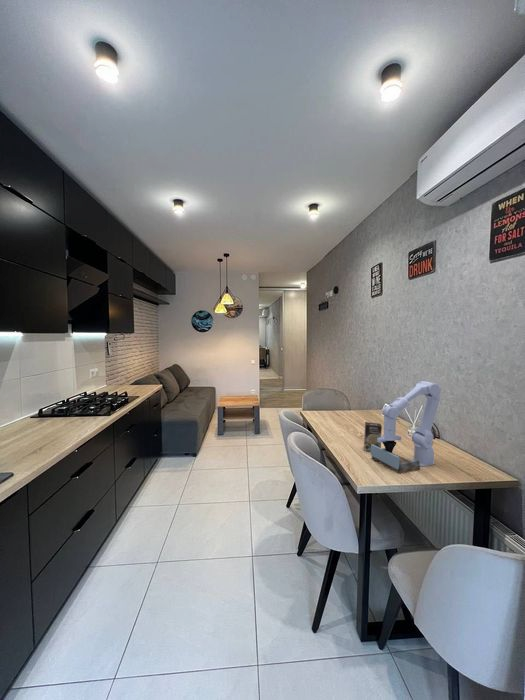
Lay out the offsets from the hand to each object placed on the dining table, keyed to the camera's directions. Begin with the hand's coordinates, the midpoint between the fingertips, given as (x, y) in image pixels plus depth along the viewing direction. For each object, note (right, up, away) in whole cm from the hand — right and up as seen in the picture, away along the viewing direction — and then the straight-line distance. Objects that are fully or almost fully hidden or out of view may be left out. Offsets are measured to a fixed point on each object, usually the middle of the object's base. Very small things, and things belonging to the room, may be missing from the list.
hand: (388, 454), depth 157 cm
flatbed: (+4, -5, +2) cm, 7 cm away
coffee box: (-1, -5, +20) cm, 21 cm away
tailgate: (-2, -3, -1) cm, 4 cm away
